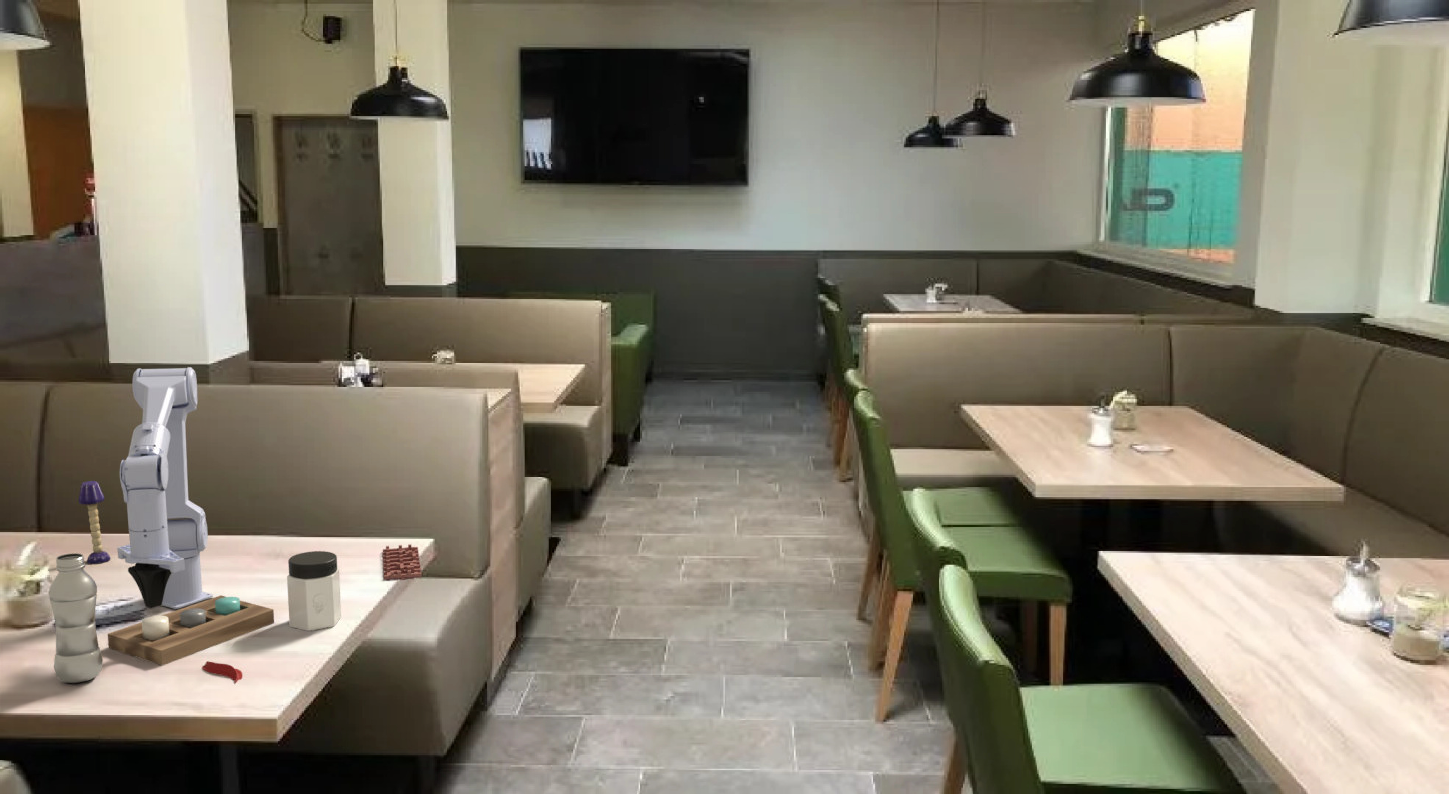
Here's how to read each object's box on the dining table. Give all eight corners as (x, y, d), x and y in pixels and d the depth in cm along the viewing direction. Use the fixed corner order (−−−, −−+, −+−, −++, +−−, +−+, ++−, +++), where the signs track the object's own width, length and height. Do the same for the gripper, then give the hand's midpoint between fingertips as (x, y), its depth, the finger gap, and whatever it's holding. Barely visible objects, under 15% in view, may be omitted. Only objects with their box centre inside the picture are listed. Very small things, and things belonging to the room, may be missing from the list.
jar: (295, 634, 200) (292, 568, 198) (284, 620, 207) (280, 555, 205) (347, 624, 205) (344, 560, 203) (335, 610, 212) (332, 548, 210)
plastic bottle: (67, 671, 184) (56, 550, 180) (111, 670, 184) (101, 550, 181) (47, 688, 177) (35, 563, 174) (93, 687, 178) (82, 563, 174)
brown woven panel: (384, 583, 229) (383, 574, 228) (383, 555, 246) (382, 546, 246) (421, 580, 231) (421, 571, 230) (417, 552, 248) (417, 543, 248)
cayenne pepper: (248, 684, 181) (248, 672, 181) (217, 691, 178) (216, 679, 178) (229, 659, 191) (228, 648, 190) (199, 665, 188) (198, 654, 188)
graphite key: (175, 629, 198) (174, 614, 198) (196, 622, 202) (195, 607, 201) (190, 634, 197) (189, 618, 196) (211, 626, 200) (210, 611, 199)
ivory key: (137, 637, 192) (136, 621, 192) (159, 629, 196) (158, 614, 195) (152, 642, 190) (151, 626, 190) (174, 634, 194) (173, 618, 193)
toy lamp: (93, 565, 235) (87, 486, 232) (78, 562, 237) (71, 483, 234) (115, 559, 239) (108, 481, 236) (100, 556, 241) (93, 478, 238)
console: (108, 648, 193) (107, 633, 193) (221, 608, 212) (220, 595, 212) (162, 665, 187) (161, 650, 186) (274, 622, 206) (273, 609, 205)
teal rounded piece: (211, 617, 204) (210, 602, 204) (230, 610, 208) (229, 595, 207) (226, 621, 203) (225, 606, 202) (245, 614, 206) (244, 599, 206)
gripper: (97, 526, 190) (104, 605, 192) (154, 540, 183) (160, 621, 185) (137, 516, 196) (143, 593, 198) (193, 529, 189) (198, 608, 191)
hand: (154, 606), depth 192 cm, fingers closed
